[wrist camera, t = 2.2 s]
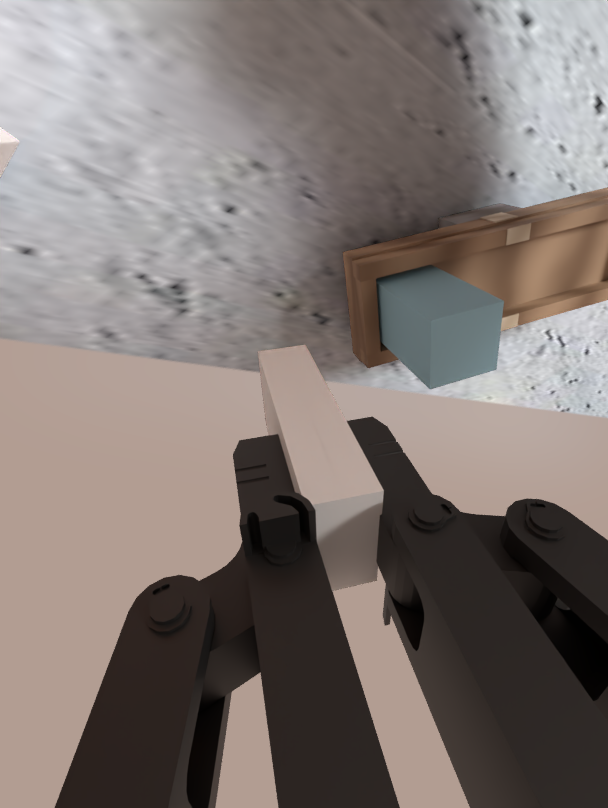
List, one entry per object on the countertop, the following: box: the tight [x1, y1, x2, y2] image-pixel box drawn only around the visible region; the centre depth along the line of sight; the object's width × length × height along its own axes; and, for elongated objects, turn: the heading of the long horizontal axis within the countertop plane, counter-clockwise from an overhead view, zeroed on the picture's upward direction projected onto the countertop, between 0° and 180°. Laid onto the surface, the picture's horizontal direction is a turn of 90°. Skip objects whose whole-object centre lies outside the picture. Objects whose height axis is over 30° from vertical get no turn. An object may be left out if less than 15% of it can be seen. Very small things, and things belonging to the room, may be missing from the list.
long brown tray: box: [343, 188, 608, 368], centre depth 38 cm, size 26×9×7 cm, turn 99°
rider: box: [376, 265, 504, 389], centre depth 31 cm, size 5×5×9 cm
